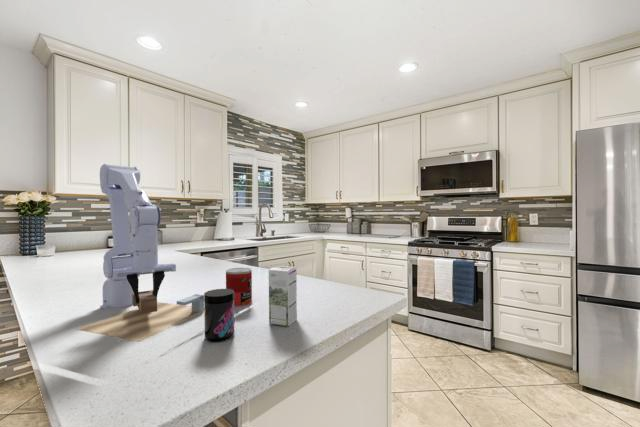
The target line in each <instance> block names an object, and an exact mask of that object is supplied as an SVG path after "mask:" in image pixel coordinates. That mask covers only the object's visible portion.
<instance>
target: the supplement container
mask: <svg viewBox="0 0 640 427" xmlns="http://www.w3.org/2000/svg"><path fill="white" fill-rule="evenodd" d="M203 295H204V312H203V313H204V319H203V320H204V338H205V339H206V340H207V341H208V342H211V343H219V342H225V341H227V340H230V339H231V338H232V337H233V336H234V335H235V306H234V290H232V289H226V288H217V289H210V290H208V291H206V292H204V294H203Z"/></svg>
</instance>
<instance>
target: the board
mask: <svg viewBox="0 0 640 427" xmlns="http://www.w3.org/2000/svg"><path fill="white" fill-rule="evenodd" d="M203 313H204V311H203V312H200V313H197V312H192V305H191V306H189V305H178V304H177V303H176V304H175V303H168V302H159V301H157V311H156V312H150V313H144V314H141V312H140V311H139V308H138V307H136V308H135V309H134V308H133V309H131V310H129V311H125V312H122V313H120V314H117V315H113V316H110V317H107V318H105V319H102V320H98V321H96V322H92V323H90V324H86V325H84V326H80V327H78V328H76V330H79V331H84V332H89V333H94V334H97V335H98V334H99V335H103V336H110V337H114V338H119V339H123V340H124V339H125V340H130V341H134V342H142V341H144V340H146V339H147V338H150V337H152V336H154V335H157V334H159V333H161V332H164V331H165V330H167V329H170V328H172V327H174V326H177V325H178V324H181V323H183V322H185V321H188V320H190V319H192V318H194V317H197V316H198V315H201V314H203Z"/></svg>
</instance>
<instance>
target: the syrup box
mask: <svg viewBox="0 0 640 427" xmlns="http://www.w3.org/2000/svg"><path fill="white" fill-rule="evenodd" d="M297 281H298V280H297V267H296V266H286V265H285V266H284V265H281V266H280V265H276V266H273V267H271V268H270V269H268V324H269V325H273V326H281V327H287V328H288V327H290V326H292V325H293V324H294V323H295V322H297V320H298V313H297V312H298V310H297V309H298V307H297V306H298V305H297V304H298V303H297V293H298V292H297V289H298V288H297Z"/></svg>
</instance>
